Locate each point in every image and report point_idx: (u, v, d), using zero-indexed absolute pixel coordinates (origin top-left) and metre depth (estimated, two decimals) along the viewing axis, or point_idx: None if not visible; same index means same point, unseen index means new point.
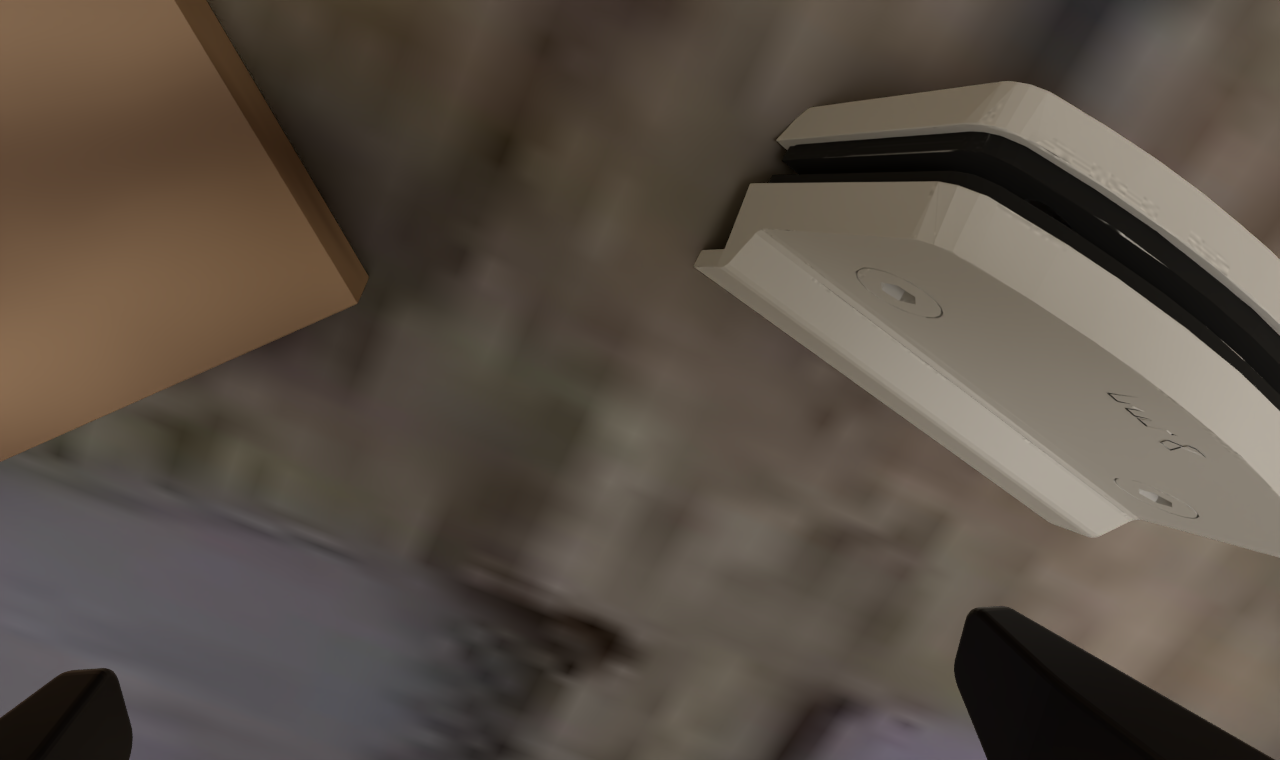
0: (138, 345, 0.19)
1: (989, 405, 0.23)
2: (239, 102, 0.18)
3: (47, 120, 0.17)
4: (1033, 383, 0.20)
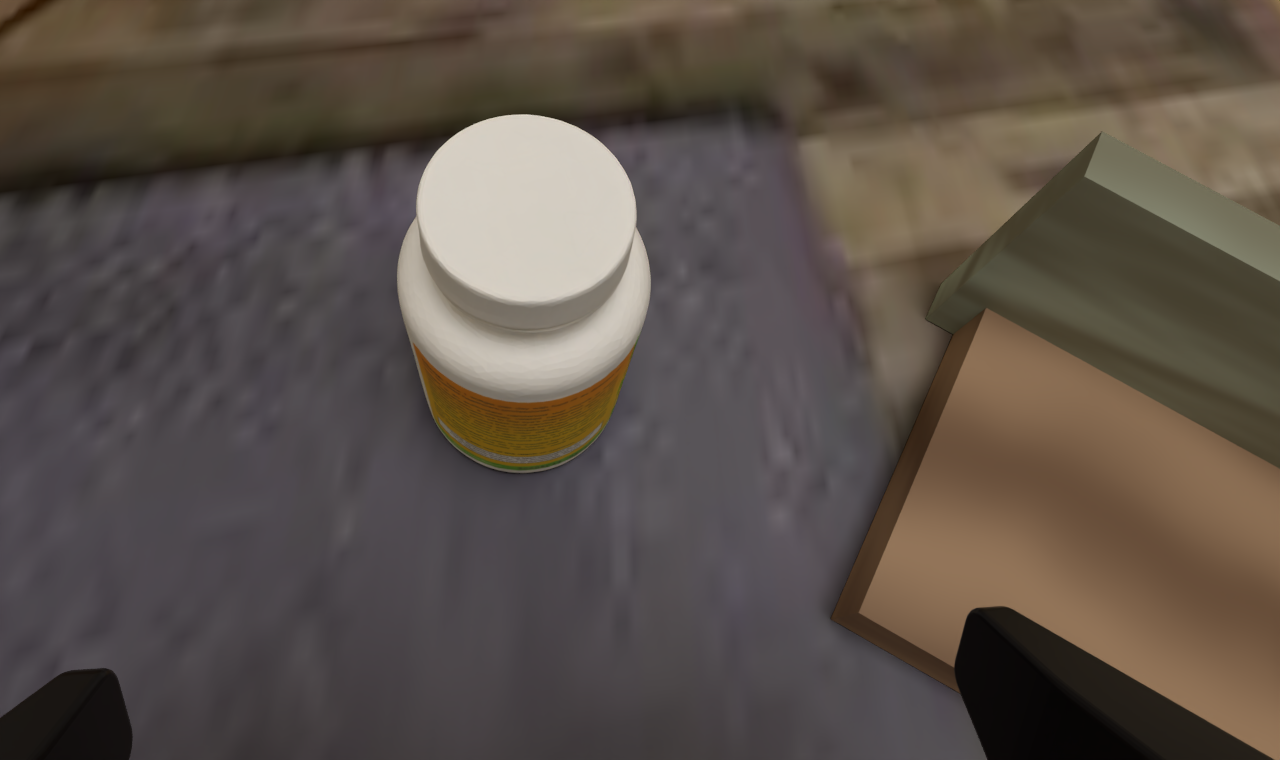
0: None
1: None
2: None
3: None
4: None
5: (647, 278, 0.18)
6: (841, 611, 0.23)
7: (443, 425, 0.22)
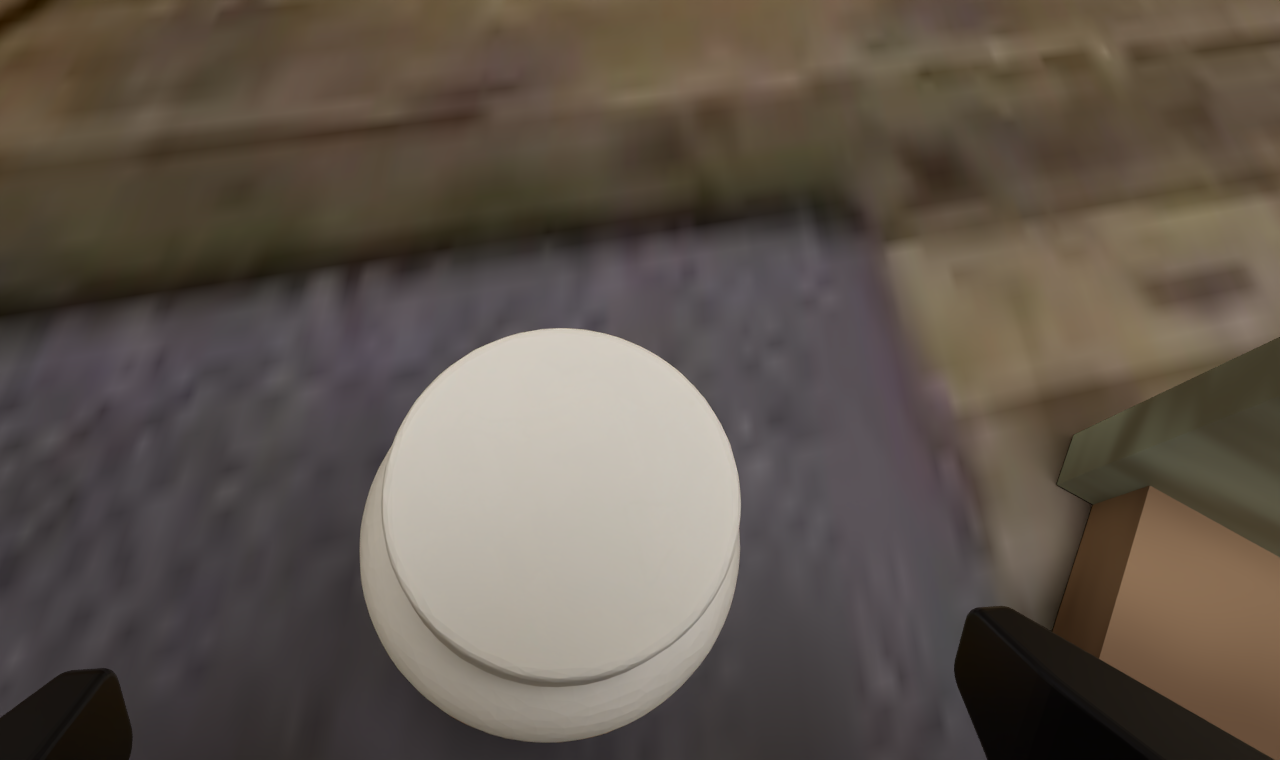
0: None
1: None
2: None
3: None
4: None
5: (737, 541, 0.12)
6: None
7: None
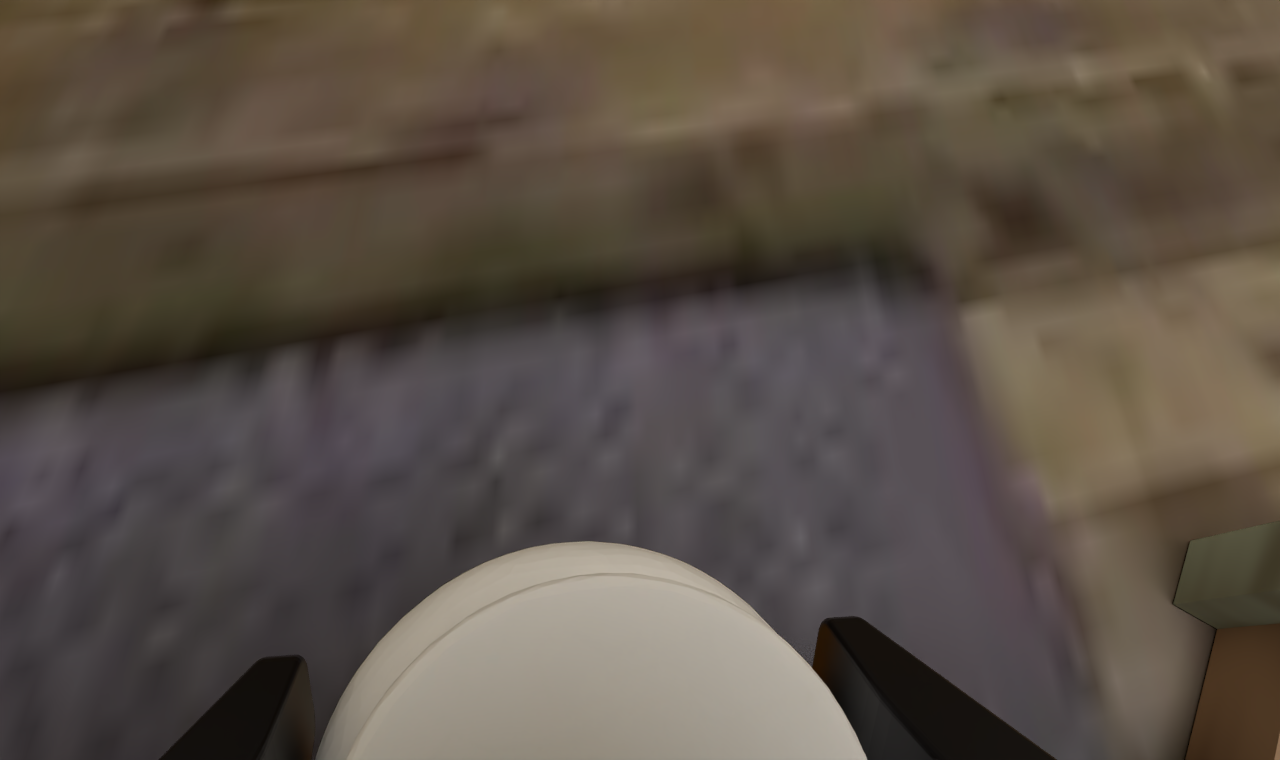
0: None
1: None
2: None
3: None
4: None
5: None
6: None
7: None
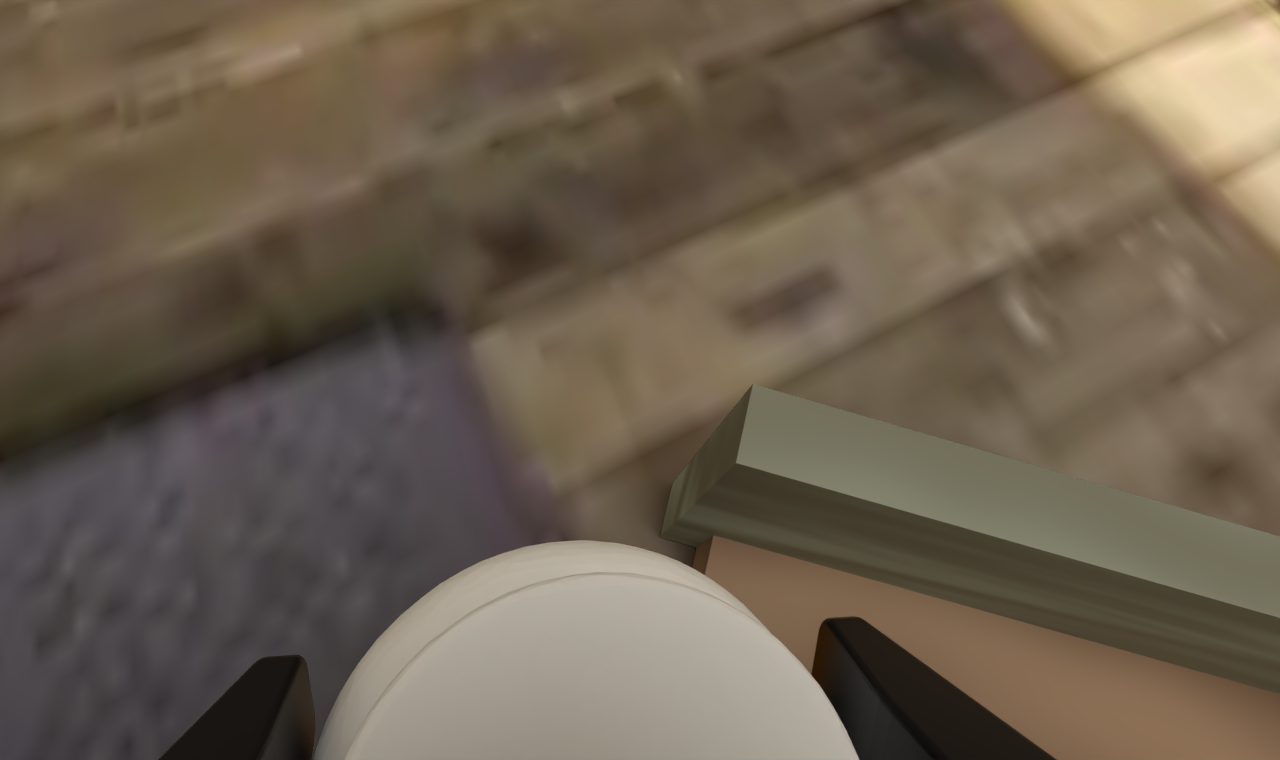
0: None
1: None
2: None
3: None
4: None
5: None
6: None
7: None
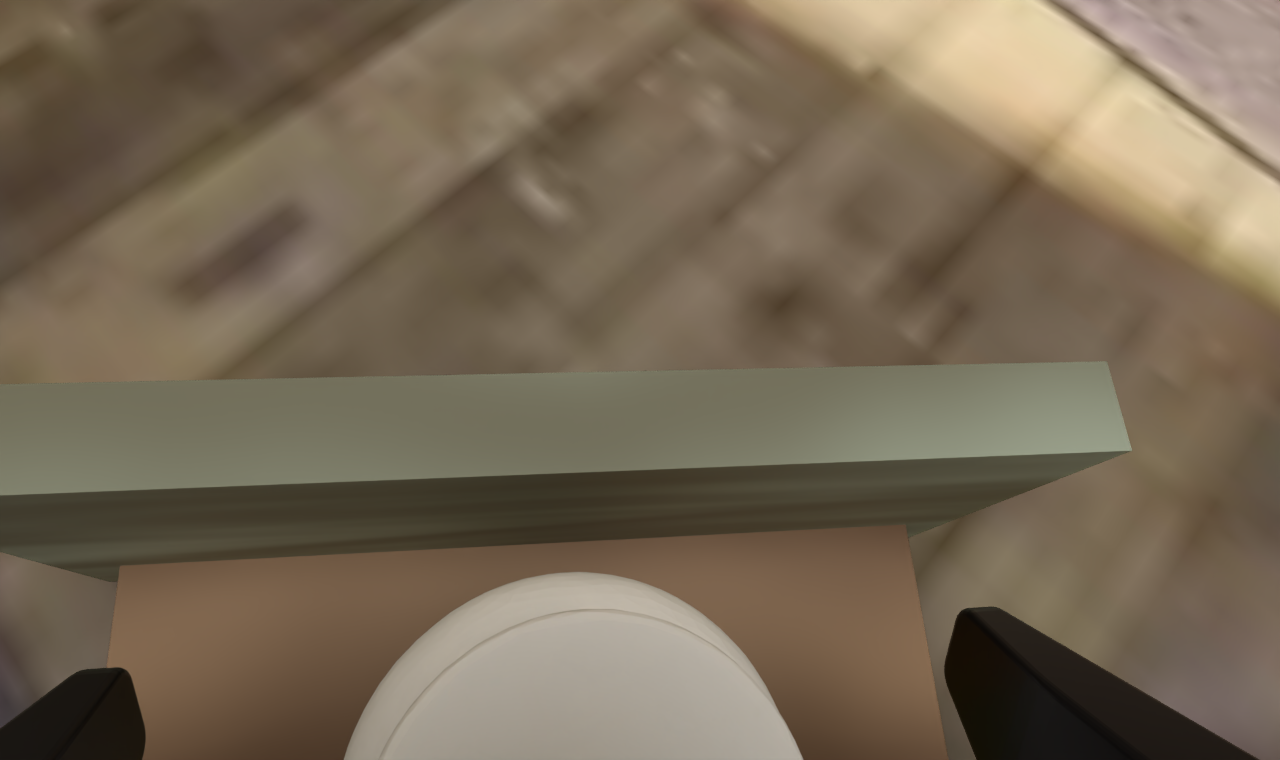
0: None
1: None
2: None
3: None
4: None
5: None
6: None
7: None
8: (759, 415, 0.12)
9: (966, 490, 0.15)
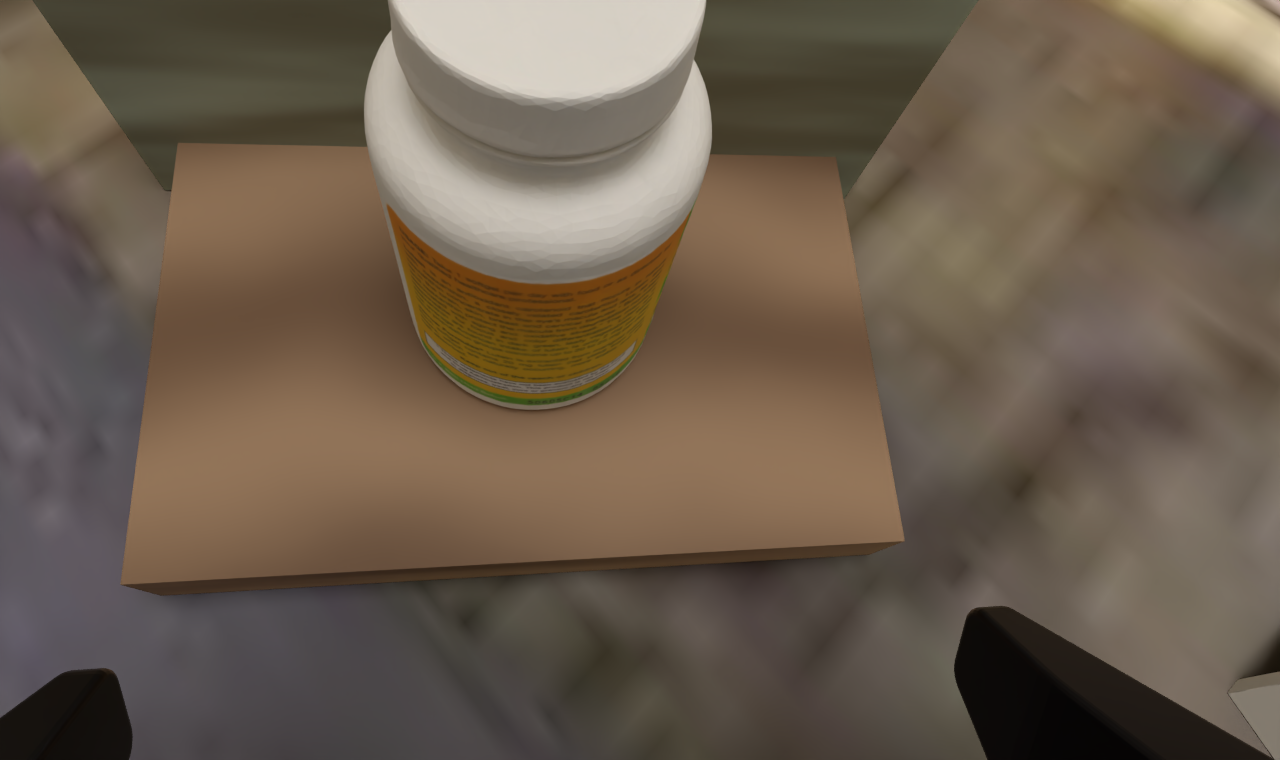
0: (682, 498, 0.18)
1: None
2: None
3: (719, 295, 0.20)
4: None
5: (708, 117, 0.13)
6: None
7: (432, 344, 0.17)
8: None
9: (873, 64, 0.19)
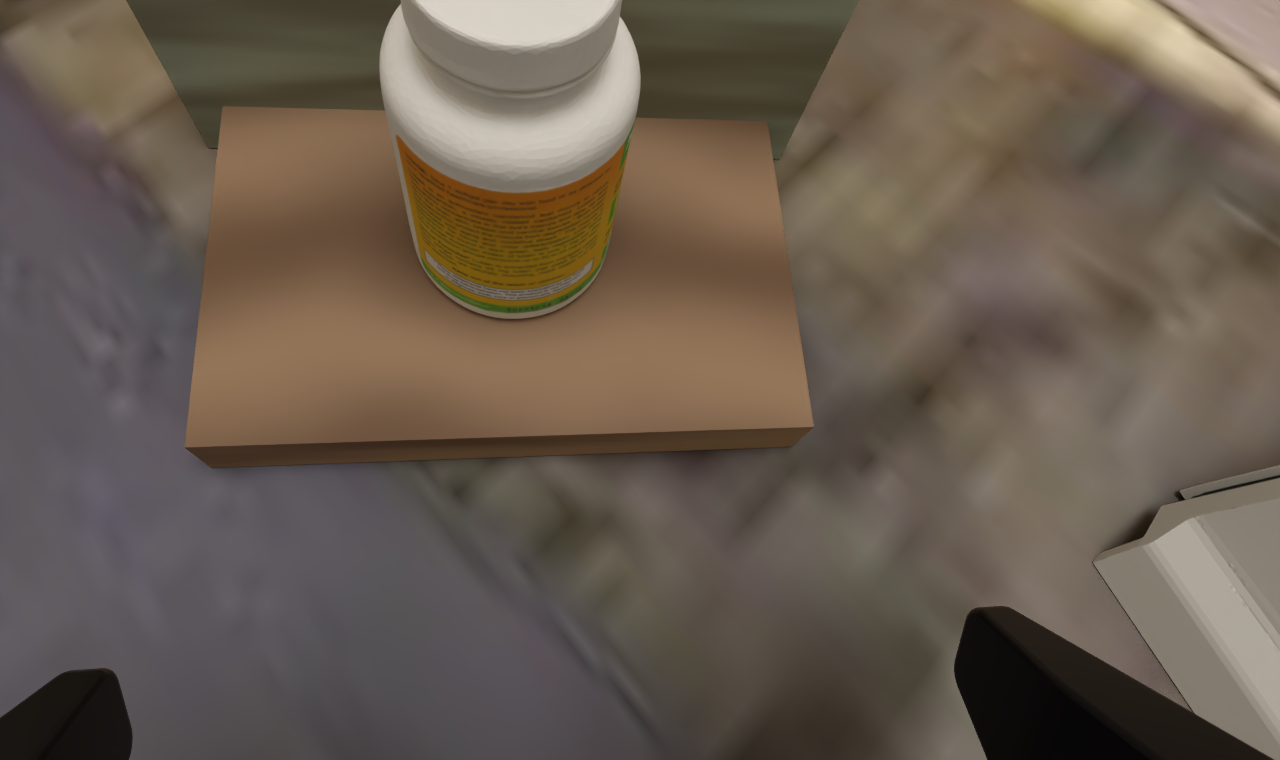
0: (633, 390, 0.23)
1: None
2: None
3: (666, 231, 0.24)
4: None
5: (637, 71, 0.17)
6: None
7: (430, 260, 0.21)
8: None
9: (788, 41, 0.23)
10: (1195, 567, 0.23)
